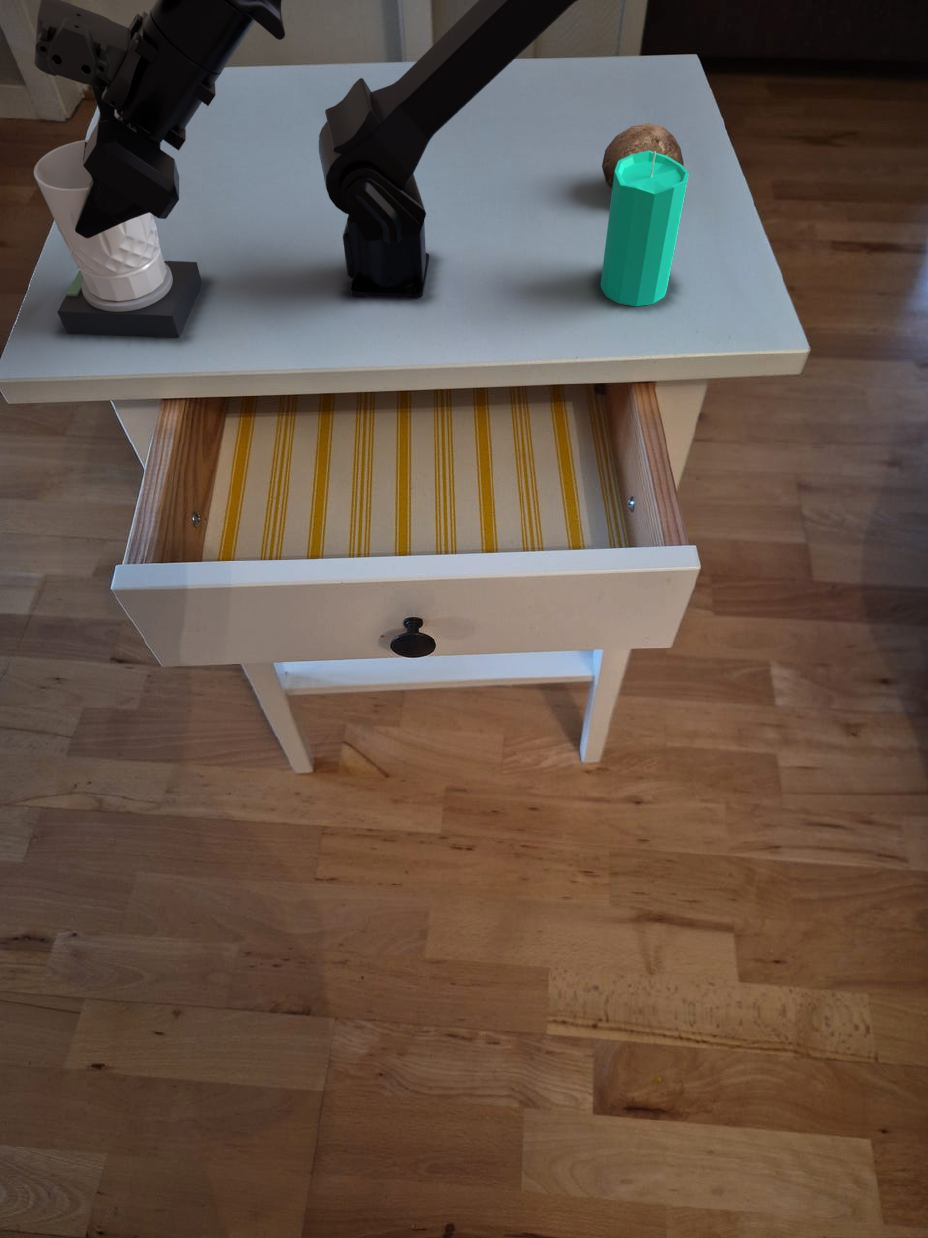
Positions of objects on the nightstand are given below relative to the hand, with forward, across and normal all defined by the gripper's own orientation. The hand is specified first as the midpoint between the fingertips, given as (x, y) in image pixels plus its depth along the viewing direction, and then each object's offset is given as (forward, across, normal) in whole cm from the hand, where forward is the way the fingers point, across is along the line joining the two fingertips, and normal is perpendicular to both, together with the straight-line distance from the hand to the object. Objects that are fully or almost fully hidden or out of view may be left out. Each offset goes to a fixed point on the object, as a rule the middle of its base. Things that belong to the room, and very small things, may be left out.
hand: (84, 207), depth 72 cm
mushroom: (-29, -10, +43) cm, 52 cm away
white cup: (+4, 0, +6) cm, 7 cm away
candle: (-25, +6, +39) cm, 47 cm away
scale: (+6, 0, +8) cm, 10 cm away
